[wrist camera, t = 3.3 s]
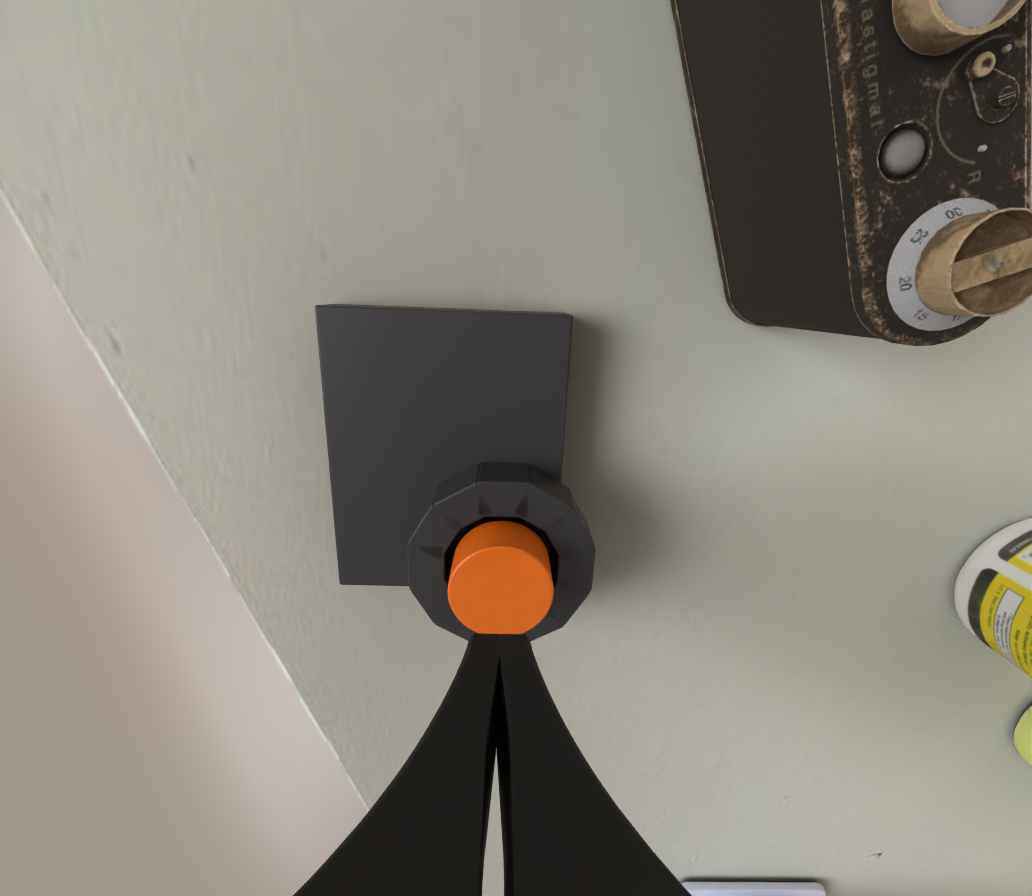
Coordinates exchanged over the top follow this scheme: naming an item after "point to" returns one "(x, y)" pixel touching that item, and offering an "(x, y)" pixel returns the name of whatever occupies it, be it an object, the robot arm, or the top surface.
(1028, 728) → the tube
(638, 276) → the top surface
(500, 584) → the switch button
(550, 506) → the push button switch
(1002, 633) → the pill bottle
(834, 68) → the camera
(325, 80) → the top surface
